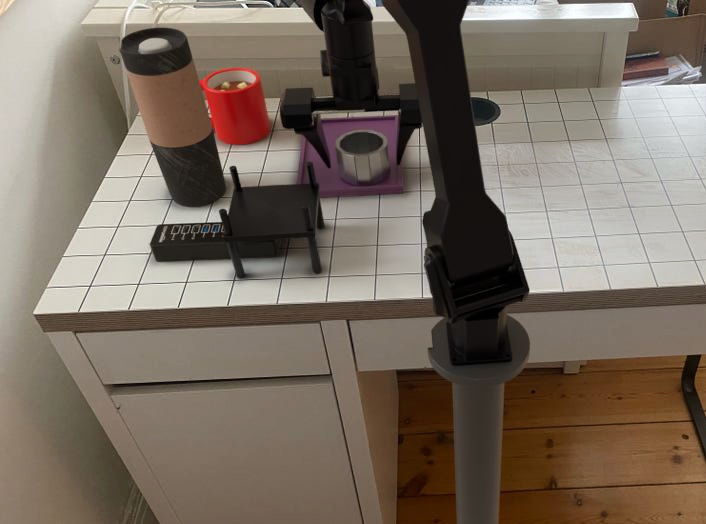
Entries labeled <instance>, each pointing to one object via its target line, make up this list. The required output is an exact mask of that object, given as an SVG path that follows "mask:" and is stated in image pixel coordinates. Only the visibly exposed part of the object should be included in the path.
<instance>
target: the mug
mask: <svg viewBox="0 0 706 524" xmlns="http://www.w3.org/2000/svg"><path fill="white" fill-rule="evenodd" d="M199 82H200V86H201V89H202V92H203V91H204V94H205V98H206V102H207V106H208V111H209V115H210V121H211V124H212V128H213V129H214V133H215V136H216V137H217V139H218V140H219V141H220V142H222V143H224V144H227V145H232V146H233V145H234V146H235V145H237V146H241V145H250V144H254V143H256V142H260V141H261V140H263V139H265V138H267V137H268V135H269V134H270V133H271V130H272V127H271V122H270V117H269V113H268V108H267V103H266V99H265V94H264V90H263V85H262V80H261V75H260V74H259V73H258V72H257V71H255V70H253V69H251V68H246V67H228V68H223V69H219V70H216V71H213V72H211V73H209V74H208V75H206V76H205V77H204V79H199Z"/></svg>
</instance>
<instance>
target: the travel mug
mask: <svg viewBox="0 0 706 524" xmlns="http://www.w3.org/2000/svg"><path fill="white" fill-rule="evenodd" d="M118 50H119V53H120V55H121V59H122V62H123V65H124V68H125V71H126V73H127V76H128V80H129V83H130V86H131V89H132V92H133V95H134V98H135V101H136V104H137V107H138V110H139V113H140V116H141V119H142V122H143V126H144V128H145V131H146V134H147V137H148V140H149V143H150V145H151V148H152V151H153V154H154V156H155V159H156V162H157V165H158V166H159V169H160V172H161V174H162V177H163V180H164V182H165V185H166V188H167V190H168V193H169V195H170V198H171V200H172V201H173V202H174V203H176V204H177V205H180V206H184V207H201V206H205V205H206V206H207V205H209V204H212V203H214V202H216V201H218V200H219V199H220V198H222V197H223V196H224V195H225V193H226V189H227V185H226V180H225V176H224V175H225V174H224V171H223V168H222V163H221V158H220V153H219V150H218V145H217V141H216V138H215V131H214V128H212V124H211V121H210V118H211V116H210V113H209V109H208V107H207V104H206V100H205V98H204V97H205V96H204V92H203V90H202V89H201V86H200V82H199V80H200V79H199V76H198V73H197V72H198V71H197V69H196V65H195V60H194V58H193V54H192V50H191V47H190V43H189V40H188V37H187V35H186V33H184V32H183V31H182V30H180V29H178V28H172V27H162V26H161V27H150V28H143V29H139V30H136V31H134V32H131V33H129V34H127V35H125V36H123V37H122V39H121V40H120V48H118Z"/></svg>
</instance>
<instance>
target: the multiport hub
mask: <svg viewBox="0 0 706 524" xmlns="http://www.w3.org/2000/svg"><path fill="white" fill-rule="evenodd" d="M223 235H224V228H223V224H222V221H214V222H213V221H212V222H182V223H161V224H157V226H155V229H154V232H153V234H152V237H151V240H150V242H149V247H150V249H151V252H152V255H153V258H154V260H155V261H156V262H176V261H177V262H179V261H203V260H205V261H206V260H229V259H231V255H230V252H229V249H228V245H227V243H225V242H224V239H223ZM281 242H282V239H280V240H262V241H245V242H236V243H237V247H238V250H239V254H240V257H241V259H253V258H254V259H255V258H256V259H257V258H276V257H278V256H279V252H280V248H281ZM231 260H232V259H231Z"/></svg>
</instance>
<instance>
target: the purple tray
mask: <svg viewBox="0 0 706 524" xmlns="http://www.w3.org/2000/svg"><path fill="white" fill-rule="evenodd" d="M321 123H322V127H323V131H324V134H325V138H326V142H327V146H328V149H329V153H330V159H331V168H327V166H326V165H325V163H324V162H323V160H322V159H321V157H320V156H319V154H318V153H317V151H316V150H315V148H314V147H313V146H312V145H311V144H310V143H309V142H308V140H307V139H306V138H305V137H304V136H303V135H302V134H301V142H300V151H299V157H298V159H299V160H298V168H297V175H296V183H295V184H307V183H309V178H308V172H307V166H306V163H307V162H312V163H313V166H314V172H315V178H316V183H319V188H320V189H319V196H320V199H321V198H322V199H323V198H339V197H340V198H341V197H357V196H374V195H391V194H392V195H393V194H395V195H396V194H404V177H403V175H404V173H403V159H402V160H401V163H400V165H397V160H396V142H397V125H398V114H390V115H386V114H385V115H369V116H367V115H366V116H344V117H323V118H321ZM354 130H372V131H376V132H380V133H382V134H383V135H384V136H385V137H387V139H388V150H389V161H390V173H389V174H388V176H387V177H386V178H385V179H384V180H382V181H381V182H379V183H376V184H373V185H367V186H359V185H353V184H350V183H348V182H347V181H345V180H344V179H343V178H342V177H341V176H340V175H339V169H338V162H337V155H336V149H335V144H336V140H337V139H338V138H339V137H340V136H341V135H344V134H345V133H348V132H351V131H354Z"/></svg>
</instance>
